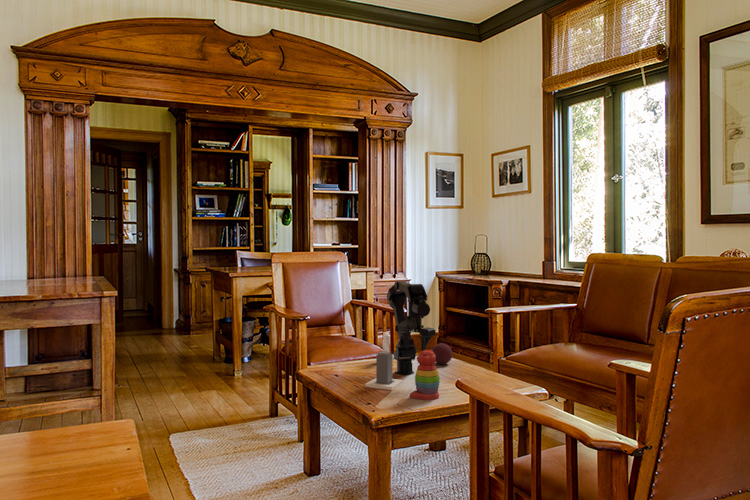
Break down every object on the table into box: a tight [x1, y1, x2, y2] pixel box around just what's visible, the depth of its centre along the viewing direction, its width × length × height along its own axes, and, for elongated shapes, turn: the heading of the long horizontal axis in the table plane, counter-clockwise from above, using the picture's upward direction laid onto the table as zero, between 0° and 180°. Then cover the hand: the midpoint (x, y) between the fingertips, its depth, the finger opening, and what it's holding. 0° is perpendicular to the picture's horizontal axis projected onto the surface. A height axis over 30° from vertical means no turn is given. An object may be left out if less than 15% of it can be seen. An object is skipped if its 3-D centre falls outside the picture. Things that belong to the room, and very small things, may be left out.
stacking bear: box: [409, 349, 441, 401], centre depth 209 cm, size 11×10×18 cm
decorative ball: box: [431, 342, 453, 365], centre depth 263 cm, size 10×10×10 cm
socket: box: [364, 377, 404, 391], centre depth 226 cm, size 12×12×1 cm
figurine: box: [382, 331, 395, 363], centre depth 265 cm, size 7×9×15 cm
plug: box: [375, 350, 393, 385], centre depth 226 cm, size 5×5×13 cm
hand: (414, 350), depth 232 cm, fingers open, 9 cm apart
